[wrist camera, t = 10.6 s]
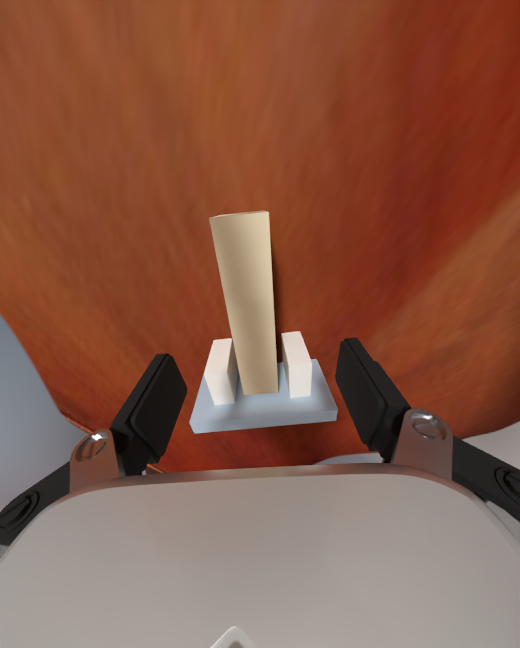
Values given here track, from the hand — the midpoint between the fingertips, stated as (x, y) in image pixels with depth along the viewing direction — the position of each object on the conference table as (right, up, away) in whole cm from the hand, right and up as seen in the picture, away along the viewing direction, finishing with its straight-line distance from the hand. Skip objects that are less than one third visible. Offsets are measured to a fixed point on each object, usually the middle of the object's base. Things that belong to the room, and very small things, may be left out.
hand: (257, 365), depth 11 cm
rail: (-1, +5, +12) cm, 13 cm away
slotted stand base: (0, -3, +16) cm, 16 cm away
